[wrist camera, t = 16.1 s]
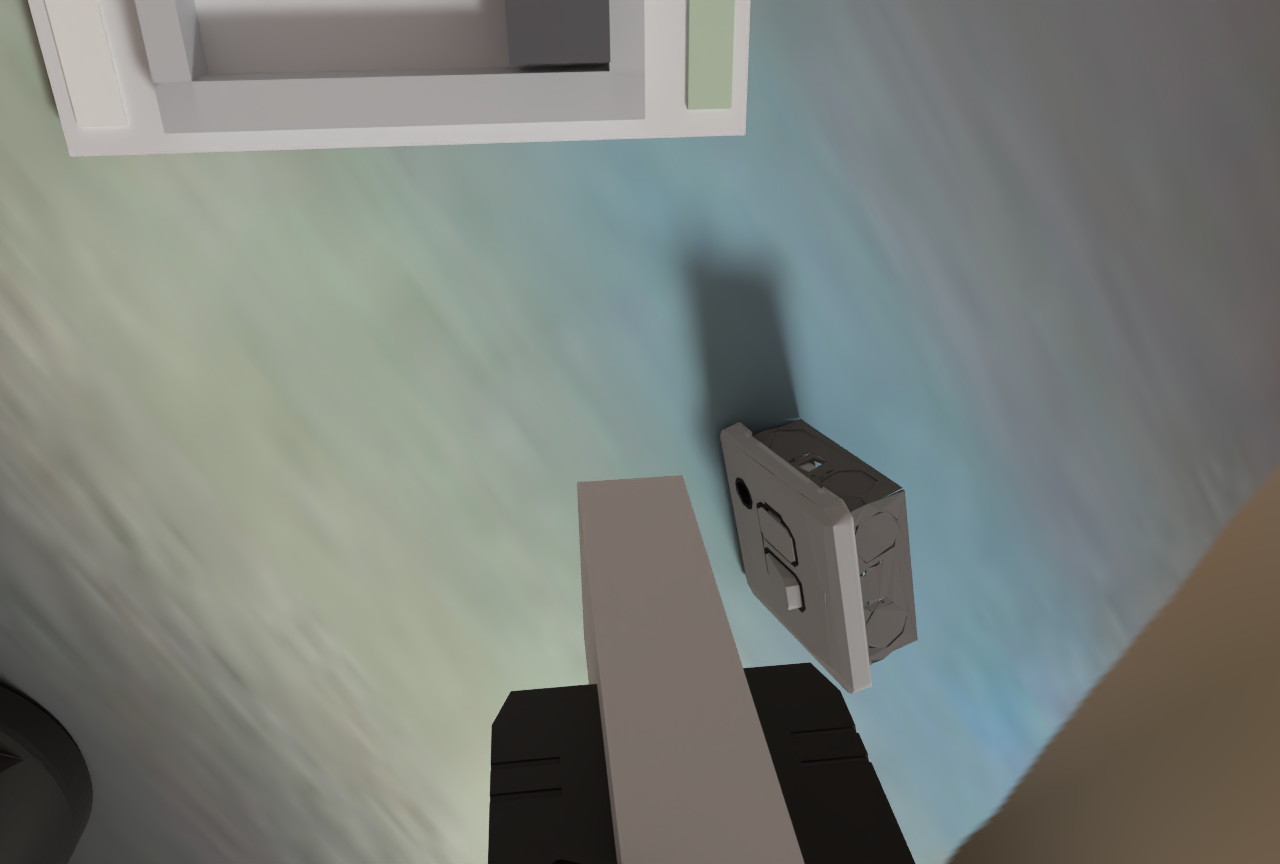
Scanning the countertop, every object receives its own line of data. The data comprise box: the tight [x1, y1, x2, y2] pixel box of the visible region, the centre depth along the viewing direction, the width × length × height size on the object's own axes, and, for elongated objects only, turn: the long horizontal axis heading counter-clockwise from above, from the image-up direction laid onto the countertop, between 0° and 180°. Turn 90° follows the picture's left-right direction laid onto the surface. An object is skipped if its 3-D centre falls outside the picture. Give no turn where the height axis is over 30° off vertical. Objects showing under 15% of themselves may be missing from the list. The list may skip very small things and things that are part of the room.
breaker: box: [505, 0, 611, 65], centre depth 31 cm, size 3×3×6 cm
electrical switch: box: [720, 419, 917, 694], centre depth 42 cm, size 9×5×9 cm, turn 11°
